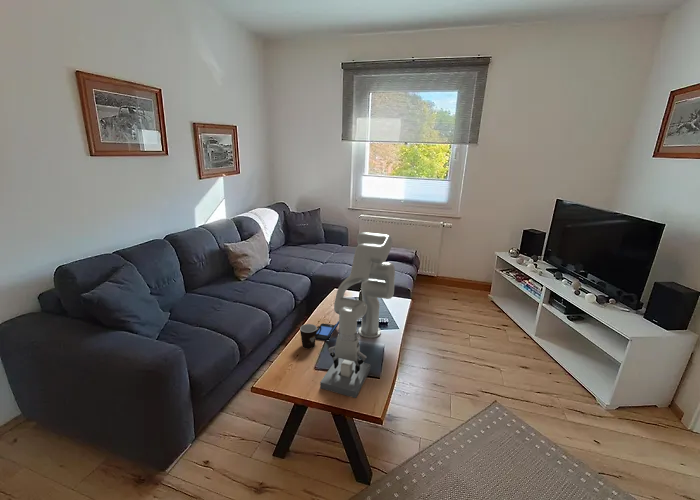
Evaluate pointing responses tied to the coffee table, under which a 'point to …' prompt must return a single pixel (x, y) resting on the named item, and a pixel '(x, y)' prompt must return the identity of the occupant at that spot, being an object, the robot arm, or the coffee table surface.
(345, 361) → the plug
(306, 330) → the coffee mug
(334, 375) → the socket plate
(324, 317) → the coffee table surface
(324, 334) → the handheld game console
